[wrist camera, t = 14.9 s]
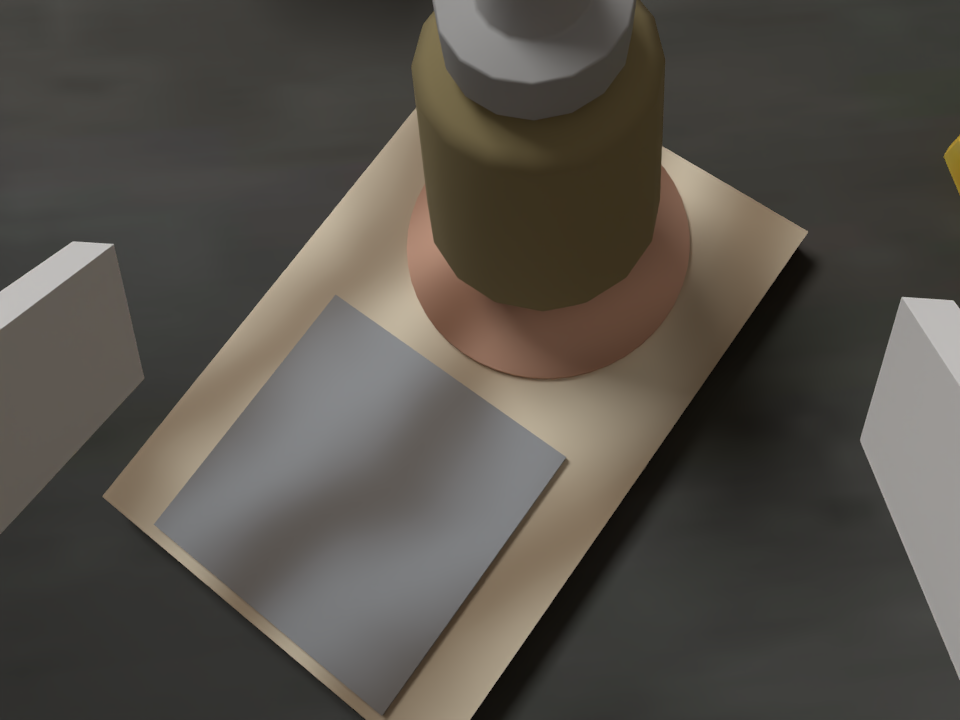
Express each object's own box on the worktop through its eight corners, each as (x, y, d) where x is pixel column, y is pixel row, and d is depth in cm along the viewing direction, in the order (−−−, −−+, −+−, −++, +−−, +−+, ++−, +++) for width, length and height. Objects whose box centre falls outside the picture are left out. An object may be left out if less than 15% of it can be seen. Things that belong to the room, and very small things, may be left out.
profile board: (122, 500, 34) (97, 495, 32) (477, 57, 37) (473, 31, 36) (438, 766, 30) (430, 776, 28) (797, 246, 34) (810, 228, 32)
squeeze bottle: (445, 149, 34) (330, -295, 17) (647, 146, 34) (742, -323, 16) (436, 340, 32) (295, 57, 15) (651, 341, 31) (765, 44, 14)
